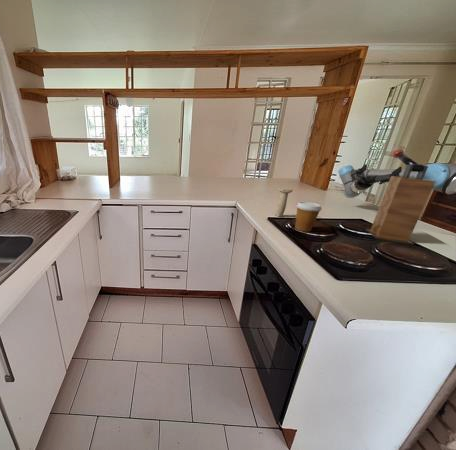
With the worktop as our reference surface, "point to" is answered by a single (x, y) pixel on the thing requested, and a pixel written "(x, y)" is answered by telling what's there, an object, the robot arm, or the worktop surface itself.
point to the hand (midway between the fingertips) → (382, 168)
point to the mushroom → (282, 201)
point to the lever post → (401, 206)
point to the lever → (407, 160)
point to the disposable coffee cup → (306, 215)
